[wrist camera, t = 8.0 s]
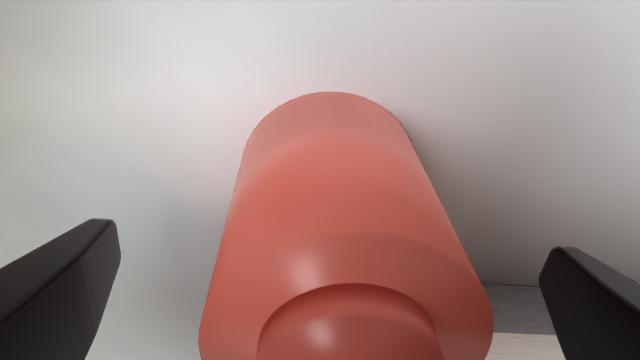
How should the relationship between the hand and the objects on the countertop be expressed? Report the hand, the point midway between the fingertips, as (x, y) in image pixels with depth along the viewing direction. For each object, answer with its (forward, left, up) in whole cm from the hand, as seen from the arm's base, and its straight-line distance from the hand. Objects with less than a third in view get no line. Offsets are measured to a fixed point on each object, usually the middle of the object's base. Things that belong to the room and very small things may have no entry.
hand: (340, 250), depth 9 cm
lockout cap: (0, 0, -3) cm, 3 cm away
